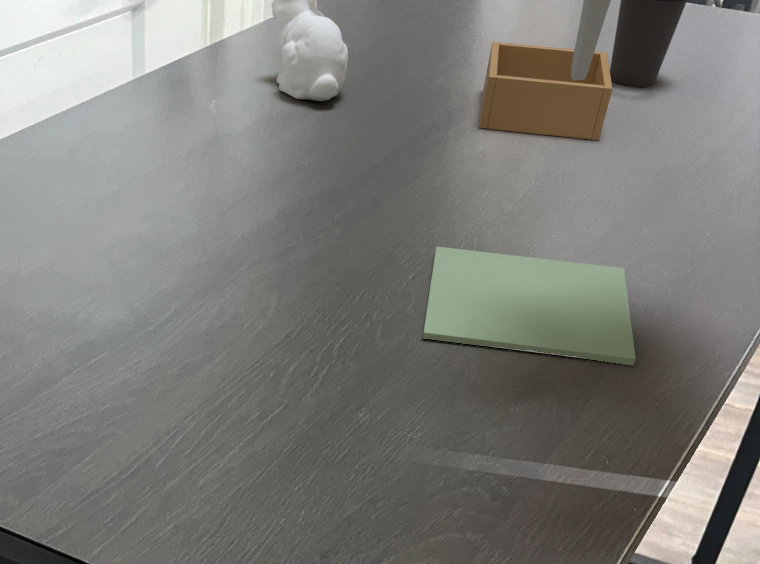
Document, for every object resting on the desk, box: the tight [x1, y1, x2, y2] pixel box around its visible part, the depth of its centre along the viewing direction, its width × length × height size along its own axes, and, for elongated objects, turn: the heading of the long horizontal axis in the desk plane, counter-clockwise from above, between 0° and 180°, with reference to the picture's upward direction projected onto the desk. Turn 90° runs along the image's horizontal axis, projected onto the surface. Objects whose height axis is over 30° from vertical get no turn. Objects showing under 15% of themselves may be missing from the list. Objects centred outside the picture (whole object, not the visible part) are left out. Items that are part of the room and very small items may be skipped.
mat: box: [422, 246, 636, 367], centre depth 89 cm, size 16×16×1 cm
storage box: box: [479, 41, 613, 141], centre depth 119 cm, size 13×13×5 cm
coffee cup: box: [609, 0, 690, 88], centre depth 127 cm, size 8×8×10 cm
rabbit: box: [271, 0, 349, 102], centre depth 120 cm, size 12×9×12 cm
